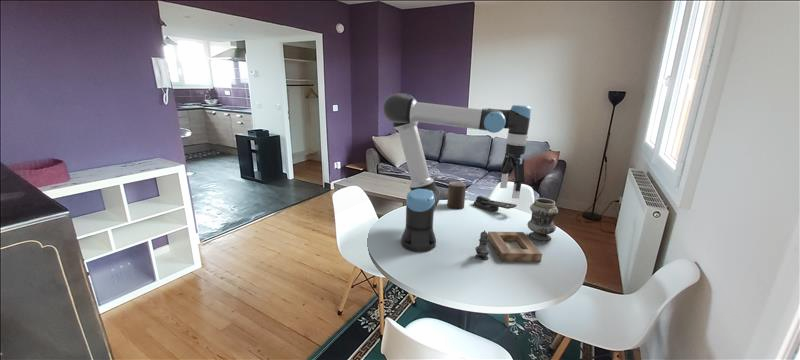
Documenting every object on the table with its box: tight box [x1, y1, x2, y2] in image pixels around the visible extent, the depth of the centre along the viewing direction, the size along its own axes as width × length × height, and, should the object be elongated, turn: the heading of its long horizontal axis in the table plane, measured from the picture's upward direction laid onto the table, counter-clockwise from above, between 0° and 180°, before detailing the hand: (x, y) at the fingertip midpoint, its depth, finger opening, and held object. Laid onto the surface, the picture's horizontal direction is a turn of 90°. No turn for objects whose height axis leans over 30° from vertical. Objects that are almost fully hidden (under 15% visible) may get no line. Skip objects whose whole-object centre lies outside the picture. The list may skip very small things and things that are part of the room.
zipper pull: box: [473, 195, 517, 213], centre depth 185 cm, size 9×7×25 cm
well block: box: [487, 231, 543, 263], centre depth 141 cm, size 16×20×4 cm
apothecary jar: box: [526, 197, 559, 243], centre depth 151 cm, size 12×12×18 cm
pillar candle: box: [446, 181, 467, 211], centre depth 188 cm, size 10×10×15 cm
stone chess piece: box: [474, 230, 491, 262], centre depth 132 cm, size 6×6×12 cm
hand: (509, 192), depth 142 cm, fingers open, 13 cm apart
